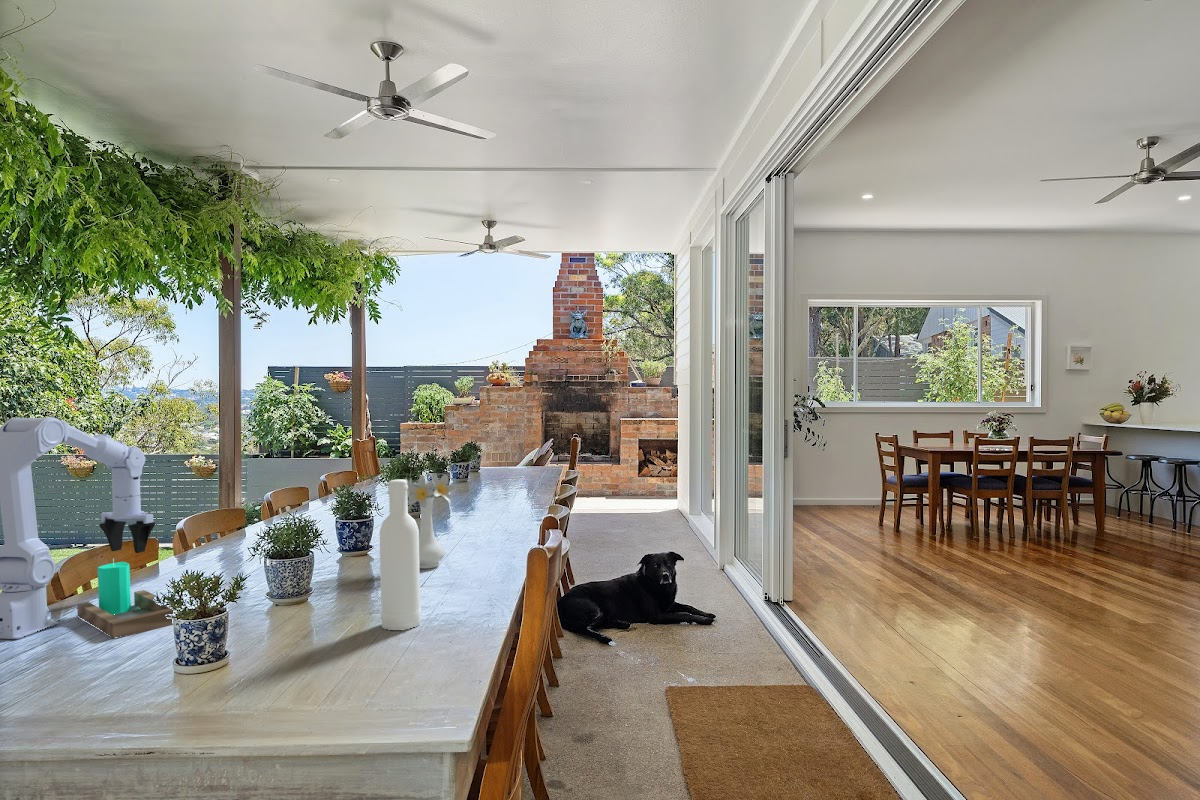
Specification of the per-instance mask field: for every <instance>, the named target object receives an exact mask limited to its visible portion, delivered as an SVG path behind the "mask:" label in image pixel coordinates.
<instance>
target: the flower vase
mask: <svg viewBox="0 0 1200 800" xmlns="http://www.w3.org/2000/svg"><path fill="white" fill-rule="evenodd" d="M431 478H432V479H431V480H425V476H424V474H422V475H420V477H419V479H418V482H413V483H412V477H410V478H409V480H408V478H407V477H404V480H406V481H407V485H408V489H407V498H408V505H414V504H415V503H417V502H418V503H419V508H420V509H419V510H420V531H419V569H420V570H421V569H423V570H425V569H426V570H428V569H433V568H437V567H440V566H439V565H440V562H441V561H442V560H443V559H444V557H445V556H446V555H445V554H446V550H445V548H444V547H443V545H442V544H441V543H440V542H439V541H438V540H437V538H436V535H435V533H434V526H433V504H434V500H435V497H437V498H438V497H440V496H441V497H442V498H444V499H445V500H446V501H447V502H450V501H451V500H452V497H451V493H452V494H453V492H456V491H457V489H458V488H457V486H456V485H453V484H448V483H449V476H448V474H444V475H442V476H441V478H440V479H439V477H438V476H437V475H436V474H435V473H432V474H431ZM387 494H388V495H389V489H387Z"/></svg>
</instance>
